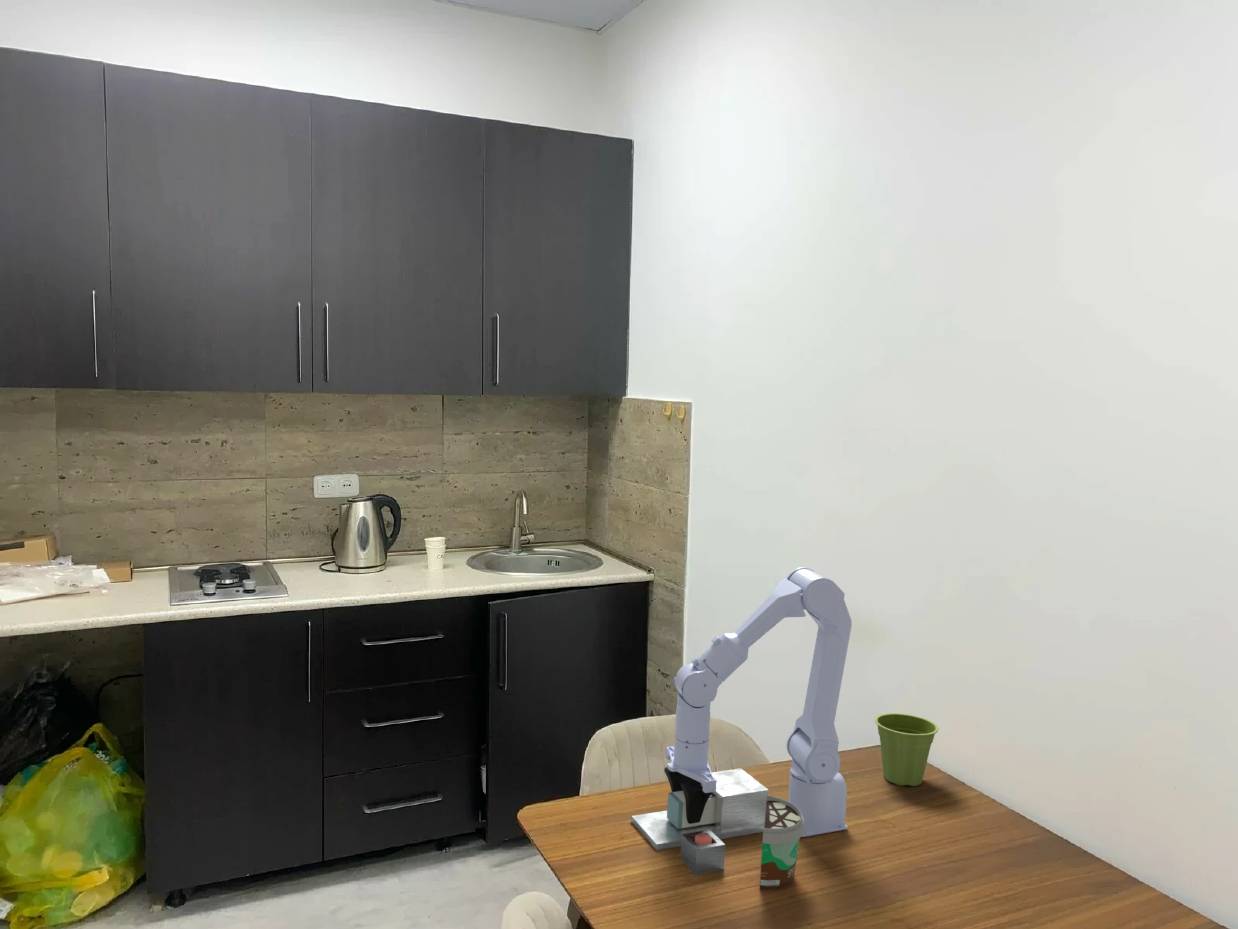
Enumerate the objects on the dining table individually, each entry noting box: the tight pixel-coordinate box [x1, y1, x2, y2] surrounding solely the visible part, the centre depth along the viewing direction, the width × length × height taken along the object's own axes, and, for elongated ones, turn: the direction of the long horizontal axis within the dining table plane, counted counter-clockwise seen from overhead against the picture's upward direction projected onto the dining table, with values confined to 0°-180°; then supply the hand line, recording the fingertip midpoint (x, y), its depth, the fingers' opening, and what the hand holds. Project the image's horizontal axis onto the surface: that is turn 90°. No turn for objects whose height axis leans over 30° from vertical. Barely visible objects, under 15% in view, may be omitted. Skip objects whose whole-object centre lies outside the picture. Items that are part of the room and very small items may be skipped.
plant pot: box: [874, 712, 939, 787], centre depth 175 cm, size 12×12×11 cm
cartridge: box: [666, 791, 717, 829], centre depth 153 cm, size 14×4×5 cm, turn 113°
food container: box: [759, 794, 805, 891], centre depth 137 cm, size 12×6×10 cm, turn 168°
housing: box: [630, 767, 769, 851], centre depth 152 cm, size 21×10×7 cm, turn 113°
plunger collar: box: [679, 830, 726, 876], centre depth 140 cm, size 5×5×4 cm
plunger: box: [695, 834, 712, 846], centre depth 140 cm, size 3×3×4 cm
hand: (687, 815), depth 151 cm, fingers closed on cartridge, 4 cm apart
